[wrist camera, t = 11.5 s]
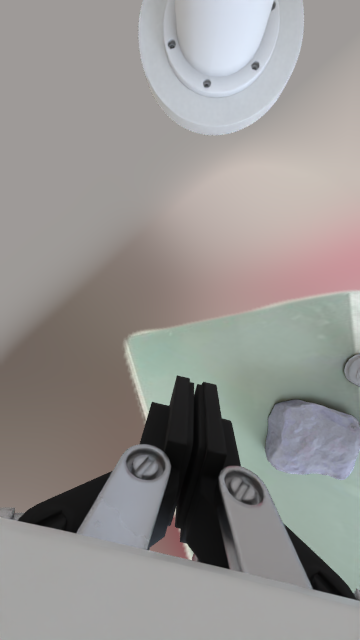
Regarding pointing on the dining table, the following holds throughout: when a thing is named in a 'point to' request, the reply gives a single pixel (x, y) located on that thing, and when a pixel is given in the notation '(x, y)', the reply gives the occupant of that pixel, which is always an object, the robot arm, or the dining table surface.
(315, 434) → the stone block
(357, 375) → the rook chess piece
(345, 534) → the dining table surface
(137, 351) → the dining table surface
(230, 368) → the dining table surface
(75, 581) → the robot arm
